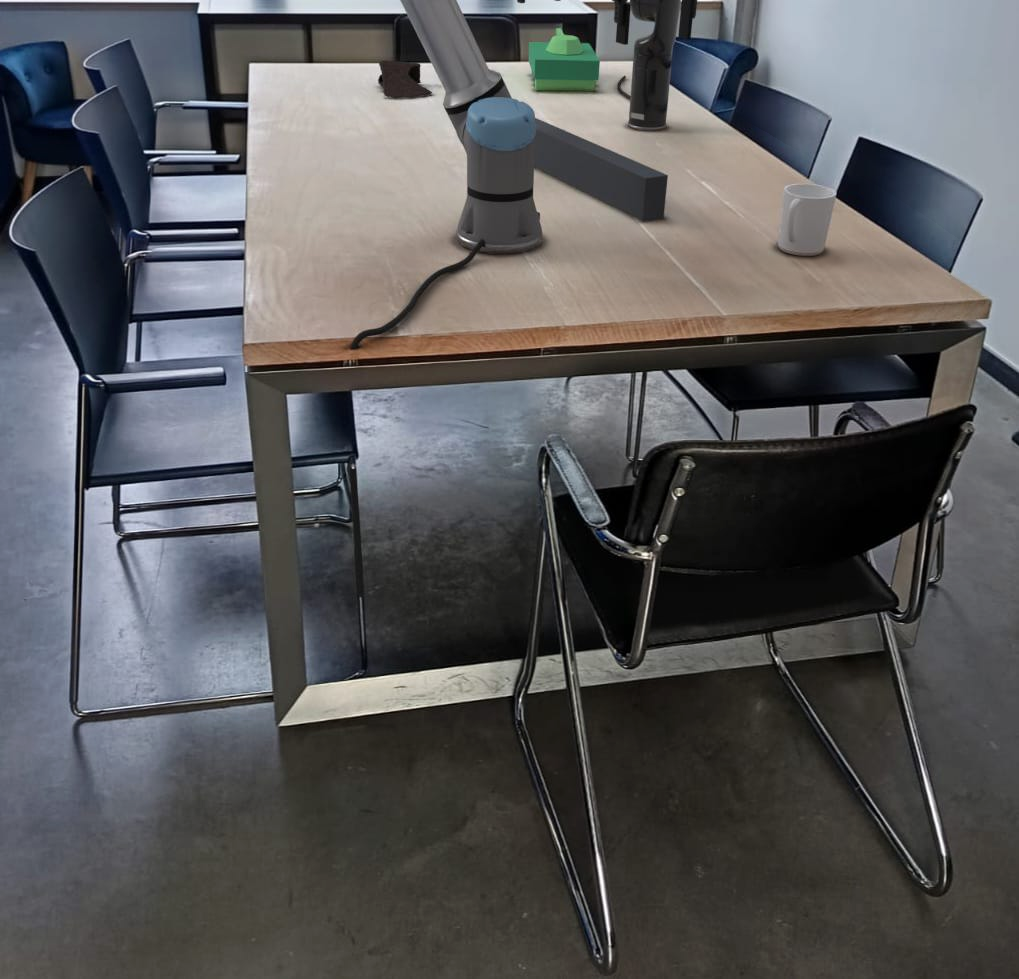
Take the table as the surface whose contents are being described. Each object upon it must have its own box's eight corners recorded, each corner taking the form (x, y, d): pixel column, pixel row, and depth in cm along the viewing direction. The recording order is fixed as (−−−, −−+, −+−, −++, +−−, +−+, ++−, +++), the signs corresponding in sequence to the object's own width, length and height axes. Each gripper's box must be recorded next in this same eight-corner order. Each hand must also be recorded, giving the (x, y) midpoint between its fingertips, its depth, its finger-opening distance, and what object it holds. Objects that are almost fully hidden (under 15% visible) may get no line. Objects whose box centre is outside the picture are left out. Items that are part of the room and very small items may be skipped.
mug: (789, 236, 200) (798, 180, 195) (834, 247, 195) (845, 190, 190) (760, 251, 193) (769, 193, 188) (807, 263, 188) (817, 204, 183)
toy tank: (587, 25, 326) (600, 46, 296) (584, 68, 332) (597, 93, 303) (528, 24, 325) (535, 44, 295) (526, 67, 331) (534, 92, 302)
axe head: (443, 87, 294) (392, 77, 287) (436, 115, 299) (385, 106, 292) (421, 62, 307) (371, 52, 300) (414, 89, 311) (365, 80, 304)
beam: (663, 218, 209) (668, 175, 205) (642, 221, 207) (646, 178, 202) (532, 154, 246) (534, 117, 242) (513, 156, 244) (514, 119, 240)
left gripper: (710, -97, 192) (696, 33, 203) (590, -95, 181) (583, 41, 192) (737, -94, 186) (722, 39, 197) (615, -92, 176) (606, 49, 187)
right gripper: (562, -90, 221) (559, -3, 230) (501, -89, 216) (499, 1, 224) (582, -87, 216) (578, 2, 224) (519, -86, 210) (517, 6, 218)
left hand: (653, 41), depth 195 cm, fingers open, 13 cm apart
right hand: (538, 1), depth 224 cm, fingers open, 8 cm apart
